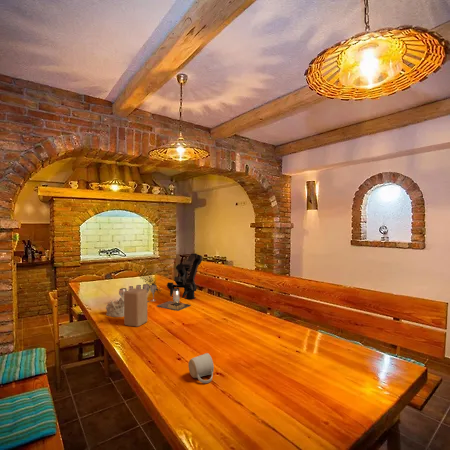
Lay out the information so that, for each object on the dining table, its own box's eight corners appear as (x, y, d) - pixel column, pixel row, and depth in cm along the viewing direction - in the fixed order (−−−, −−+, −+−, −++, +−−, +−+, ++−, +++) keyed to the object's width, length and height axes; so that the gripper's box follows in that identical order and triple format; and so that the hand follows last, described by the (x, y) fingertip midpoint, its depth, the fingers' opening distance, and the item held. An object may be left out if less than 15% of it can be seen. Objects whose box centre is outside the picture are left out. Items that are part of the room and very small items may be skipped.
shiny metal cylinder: (177, 305, 207) (177, 287, 207) (180, 307, 203) (180, 288, 203) (172, 307, 204) (171, 288, 204) (175, 308, 201) (175, 289, 200)
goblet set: (155, 299, 228) (154, 282, 228) (157, 301, 223) (157, 283, 223) (118, 305, 213) (118, 287, 213) (120, 306, 208) (119, 288, 208)
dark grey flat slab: (170, 301, 220) (170, 298, 220) (190, 305, 209) (190, 301, 209) (156, 306, 208) (156, 302, 208) (177, 310, 198) (177, 306, 198)
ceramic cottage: (138, 310, 198) (136, 288, 198) (121, 319, 183) (119, 295, 183) (120, 309, 204) (119, 288, 204) (103, 317, 189) (100, 294, 189)
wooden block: (148, 321, 176) (147, 289, 176) (138, 327, 167) (137, 292, 166) (134, 320, 179) (133, 287, 179) (123, 325, 170) (123, 291, 170)
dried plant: (176, 274, 237) (153, 248, 268) (139, 283, 218) (119, 254, 249) (171, 304, 248) (150, 276, 280) (136, 314, 229) (117, 283, 261)
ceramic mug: (187, 373, 115) (187, 354, 115) (205, 368, 119) (205, 350, 119) (198, 387, 106) (198, 366, 106) (218, 380, 110) (218, 360, 110)
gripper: (167, 271, 211) (160, 290, 201) (191, 272, 207) (185, 291, 196) (172, 280, 219) (165, 298, 209) (195, 281, 214) (190, 299, 204)
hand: (176, 296), depth 204 cm, fingers open, 9 cm apart
